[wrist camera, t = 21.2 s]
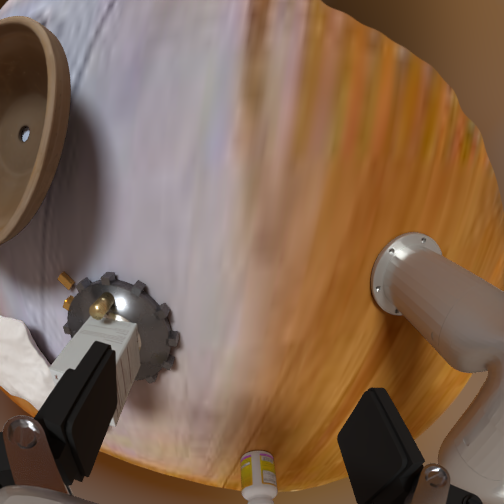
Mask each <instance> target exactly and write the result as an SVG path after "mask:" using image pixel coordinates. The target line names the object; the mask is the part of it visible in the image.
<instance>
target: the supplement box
mask: <svg viewBox="0 0 504 504" xmlns="http://www.w3.org/2000/svg"><path fill="white" fill-rule="evenodd" d="M95 341H100V342H103V343H106V344H109V345H111V348H112V350H115V352H116V381H117V399H118V402H117V408H116V411H115V413H114V415H113V418H112V420H111V423H110V425H111V426H115V427H116V425H117V422H118V420H119V417H120V414H121V412H122V409H123V407H124V404H125V402H126V399H127V396H128V394H129V392H130V389H131V387H132V384H133V382H134V380H135V377H136V375H137V373H138V370H139V368H140V355H139V342H138V328H137V323H131V322H125V321H119V320H113V319H108V318H102V319H101V320H96V319H94V318H92V317H91V316H90V317H89V318H88V320H87V321H86V322H85V323H84V324H83V326H82V327H81V328H80V329H79V331H78V332H77V333H76V334H75V335H74V337H73V338H72V339H71V340H70V342H69V343H68V344H67V345H66V347H65V348H64V349H63V350H62V352H61V353H60V354H59V355H58V357H57V358H56V359H55V361H54V362H53V363H52V365H51V366H50V367H49V369H50V372H51V376H52V379H53V382H54V385H55V386H56V384H57V383H58V381H59V380H60V378H61V377H62V376H63V374H64V373H65V371H66V370H67V369H69V368H71V369H74V370H75V369H76V367H77V366H78V364H79V363H80V361H81V360H82V358H83V357H84V355H85V354H86V353H87V351H88V350H89V348H90V347H91V346H92V344H93V343H94V342H95Z"/></svg>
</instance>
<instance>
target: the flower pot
mask: <svg viewBox="0 0 504 504" xmlns="http://www.w3.org/2000/svg"><path fill="white" fill-rule="evenodd" d="M70 99H71V85H70V72H69V66H68V62H67V58H66V55H65V52H64V50H63V47H62V45H61V43H60V42H59V40H58V39H57V37H56V36H55V35H54V34H53V33H52V32H51V31H49V30H48V29H47V28H46V27H44V26H43V25H41V24H40V23H38V22H37V21H35V20H33V19H31V18H28V17H24V16H13V17H8V18H4V19H1V20H0V245H1V244H3V243H5V242H7V241H8V240H10V239H12V238H13V237H14V236H16V235H17V234H18V233H19V232H20V231H22V230H23V229H24V228H25V227H26V225H27V224H28V223H29V222H30V221H31V219H32V218H33V217H34V215H35V214H36V212H37V211H38V209H39V207H40V206H41V204H42V202H43V200H44V198H45V196H46V194H47V192H48V190H49V188H50V185H51V183H52V181H53V178H54V175H55V172H56V170H57V167H58V164H59V161H60V157H61V153H62V150H63V146H64V141H65V137H66V132H67V127H68V120H69V112H70ZM27 126H28V127H29V130H30V134H29V137H28V139H27V140H26V141H25V142H23V141H22V138H21V134H22V131H23V129H24V128H25V127H27Z"/></svg>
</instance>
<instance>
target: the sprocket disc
mask: <svg viewBox="0 0 504 504" xmlns="http://www.w3.org/2000/svg"><path fill="white" fill-rule="evenodd" d="M145 285H146V284H144V283H142V282H141V281H139V280H138V281H137V282H136V283H135V285H132V284H130V283H127V282H124V281H120V280H115V272H106V273H105V274H104V275H103V276H102V277H101V280H98V281H95V282H92V283H91V282H90V281H89V279H88V278H87V277H86V278H85V279H83V280H82V281H81V282H79V283H78V284H77V285H76V288H77V289H78V291H79V293H78V294H77V295H76V296H75V297H73V296H70V297H68V298H67V299H66V300H65V301H64V305H63V308H65V309H66V310H68V322H67V323H66V324H65V325H64V326H63V328H64V332H65V334H70V335H71V338H73V337H74V335H75V334H76V333H77V332H78V331H79V329H80V328H81V327H82V326H83V324H84V323H85V322H86V321H87V320H88V318H89V317H90V316H91V317H92V318H94V319H96V320H101V319H102V318H108V319H113V320H119V321H125V322H131V323H137V328H138V342H139V355H140V368H139V370H138V373H137V375H136V377H135V380H142V379H146V380H147V382H148V383H152V382H155V380H156V377H157V374H158V372H159V371H160V370H161V369H162V367H163V368H165V369H167V370H170V368H171V367H172V365H173V362H174V358H175V357H174V356H172V355H170V354H169V352H170V349H171V346H177V343H178V340H179V333H178V331H171V328H170V325H169V322H168V320H167V315H168V313H169V311H170V309H169V307H168V306H167V305H166V303H163V304H161V305H158V304H157V303H156V302H155V300H154V299H153V298H152V297H150V296H149V295H148V294H147V293H146V292H144V291H143V289H144V287H145Z"/></svg>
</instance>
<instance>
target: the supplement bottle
mask: <svg viewBox="0 0 504 504" xmlns="http://www.w3.org/2000/svg"><path fill="white" fill-rule="evenodd" d="M241 484H242V496H243V497H244V498H245V499H246V500H248V501H249V502H248V504H274V502H273V500H272V499H273V498H274V497H275V496H276V495H277V492H278V491H277V483H276V475H275V467H274V460H273V456H272V455H271V454H270V453H268V452H265V451H251V452H248V453H246V454H244V455H243V456H242V458H241Z"/></svg>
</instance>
